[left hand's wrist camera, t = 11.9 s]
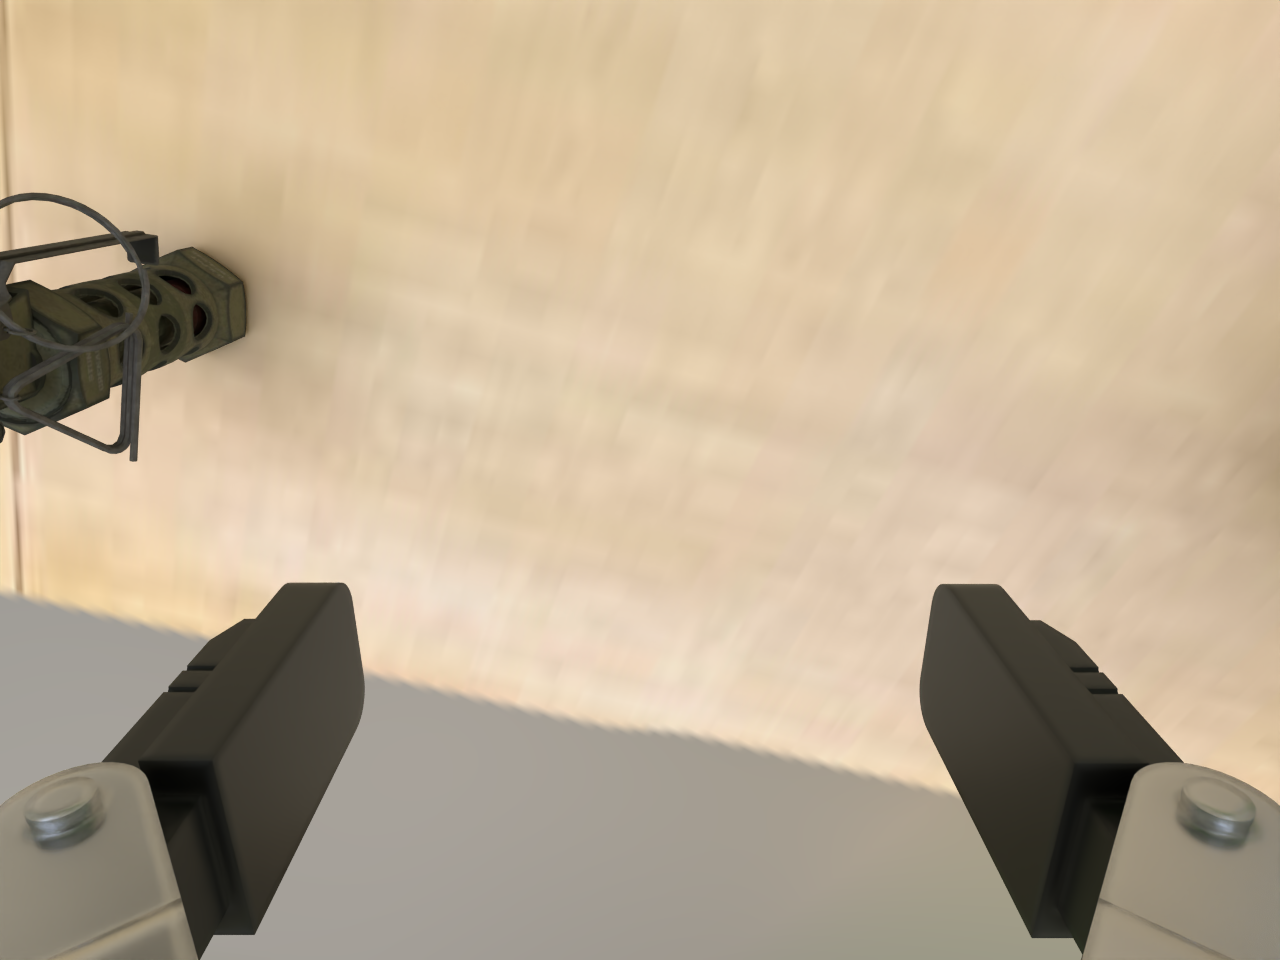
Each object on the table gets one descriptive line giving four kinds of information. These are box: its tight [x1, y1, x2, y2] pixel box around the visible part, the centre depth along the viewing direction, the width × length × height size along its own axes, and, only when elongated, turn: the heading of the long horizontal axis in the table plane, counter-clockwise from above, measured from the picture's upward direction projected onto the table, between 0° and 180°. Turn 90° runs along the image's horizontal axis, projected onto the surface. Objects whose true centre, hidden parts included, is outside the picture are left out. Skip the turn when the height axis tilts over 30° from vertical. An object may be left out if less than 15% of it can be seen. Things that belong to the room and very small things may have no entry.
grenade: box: [0, 193, 246, 462], centre depth 31 cm, size 9×6×15 cm, turn 172°
